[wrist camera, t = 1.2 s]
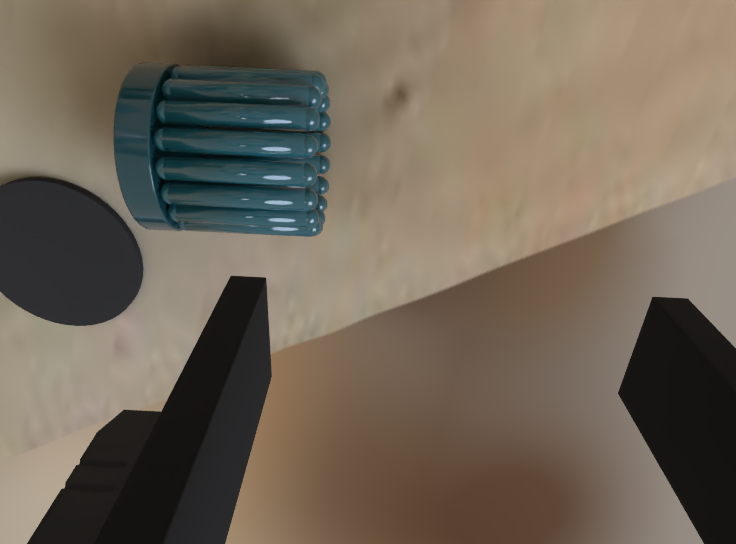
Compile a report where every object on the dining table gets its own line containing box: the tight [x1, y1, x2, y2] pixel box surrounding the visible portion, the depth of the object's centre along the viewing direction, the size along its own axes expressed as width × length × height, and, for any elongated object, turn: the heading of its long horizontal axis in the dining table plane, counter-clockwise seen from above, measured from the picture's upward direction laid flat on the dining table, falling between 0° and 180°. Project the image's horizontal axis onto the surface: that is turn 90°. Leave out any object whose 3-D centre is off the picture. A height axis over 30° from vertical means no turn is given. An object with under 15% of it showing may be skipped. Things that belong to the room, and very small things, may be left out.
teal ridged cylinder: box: [114, 62, 331, 237], centre depth 27 cm, size 9×8×8 cm
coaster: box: [0, 177, 143, 326], centre depth 35 cm, size 11×11×1 cm
